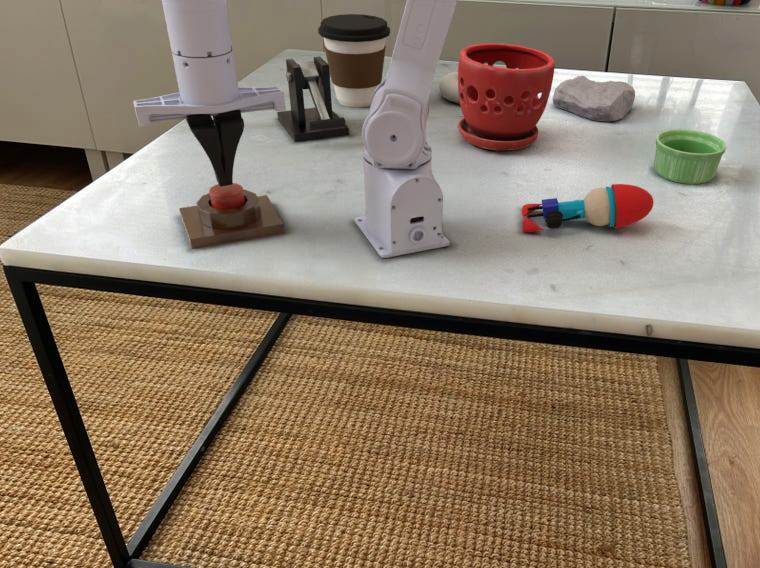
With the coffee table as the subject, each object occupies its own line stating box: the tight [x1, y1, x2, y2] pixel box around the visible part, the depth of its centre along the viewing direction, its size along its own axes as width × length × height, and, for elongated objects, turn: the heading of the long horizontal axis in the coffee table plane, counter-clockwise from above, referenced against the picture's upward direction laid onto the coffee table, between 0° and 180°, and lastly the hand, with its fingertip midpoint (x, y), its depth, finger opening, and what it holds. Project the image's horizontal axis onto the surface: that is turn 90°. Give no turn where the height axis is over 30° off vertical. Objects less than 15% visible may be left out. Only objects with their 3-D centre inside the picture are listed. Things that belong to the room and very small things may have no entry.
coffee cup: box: [317, 13, 391, 108], centre depth 112 cm, size 11×11×12 cm
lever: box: [297, 60, 347, 131], centre depth 100 cm, size 11×5×2 cm, turn 24°
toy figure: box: [521, 183, 655, 233], centre depth 83 cm, size 8×5×15 cm
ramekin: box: [653, 128, 727, 185], centre depth 96 cm, size 9×9×4 cm
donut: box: [438, 70, 460, 105], centre depth 118 cm, size 10×4×10 cm
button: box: [208, 182, 245, 210], centre depth 79 cm, size 4×4×2 cm
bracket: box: [276, 56, 350, 143], centre depth 103 cm, size 10×8×9 cm
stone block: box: [552, 75, 636, 123], centre depth 116 cm, size 12×5×10 cm
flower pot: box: [457, 42, 556, 152], centre depth 101 cm, size 13×13×12 cm
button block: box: [178, 188, 286, 250], centre depth 80 cm, size 10×8×3 cm
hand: (224, 182), depth 78 cm, fingers closed
